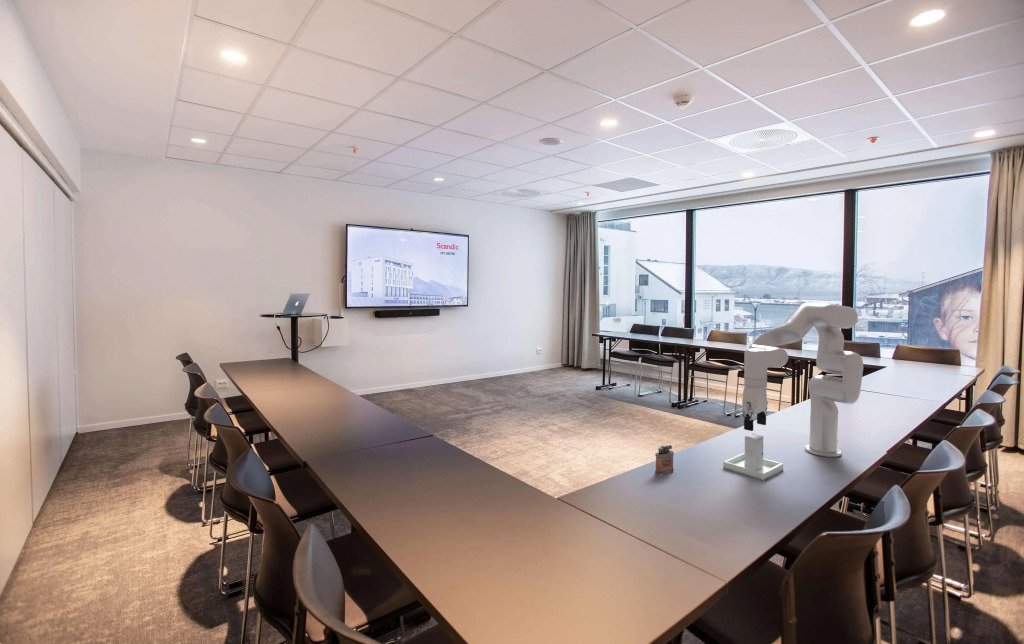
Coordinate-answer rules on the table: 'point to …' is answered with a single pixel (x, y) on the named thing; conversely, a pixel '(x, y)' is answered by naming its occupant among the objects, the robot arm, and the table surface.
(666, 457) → the lighter
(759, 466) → the skincare box
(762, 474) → the sage tray
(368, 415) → the table surface
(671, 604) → the table surface
